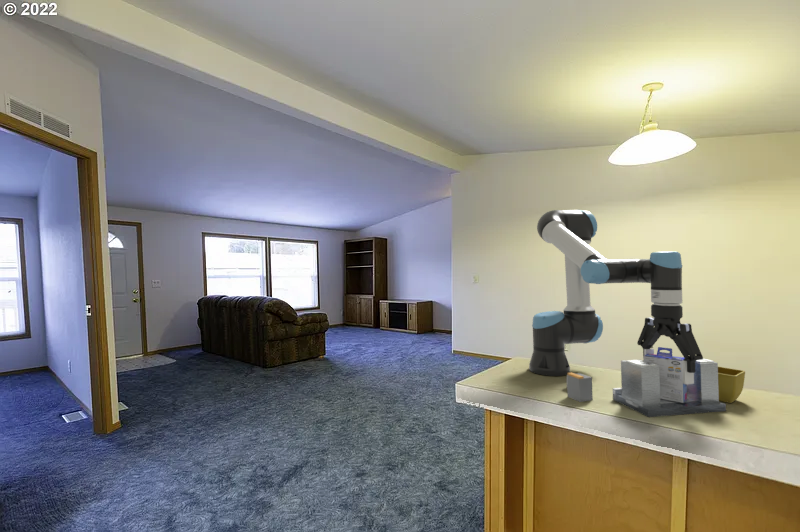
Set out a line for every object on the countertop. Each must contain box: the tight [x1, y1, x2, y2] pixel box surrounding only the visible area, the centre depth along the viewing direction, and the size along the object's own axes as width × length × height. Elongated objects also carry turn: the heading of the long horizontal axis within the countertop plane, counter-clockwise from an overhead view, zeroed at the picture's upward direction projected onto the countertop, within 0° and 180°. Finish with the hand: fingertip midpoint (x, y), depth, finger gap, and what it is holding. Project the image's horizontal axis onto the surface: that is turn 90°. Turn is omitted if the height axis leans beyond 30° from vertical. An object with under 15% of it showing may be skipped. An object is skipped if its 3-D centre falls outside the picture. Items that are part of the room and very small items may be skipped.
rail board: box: [612, 357, 727, 418], centre depth 110 cm, size 14×24×13 cm, turn 97°
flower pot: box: [718, 366, 746, 404], centre depth 114 cm, size 9×9×9 cm
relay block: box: [566, 371, 594, 403], centre depth 117 cm, size 5×5×8 cm
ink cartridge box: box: [642, 346, 687, 403], centre depth 110 cm, size 10×6×14 cm, turn 45°
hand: (667, 376), depth 110 cm, fingers open, 13 cm apart
